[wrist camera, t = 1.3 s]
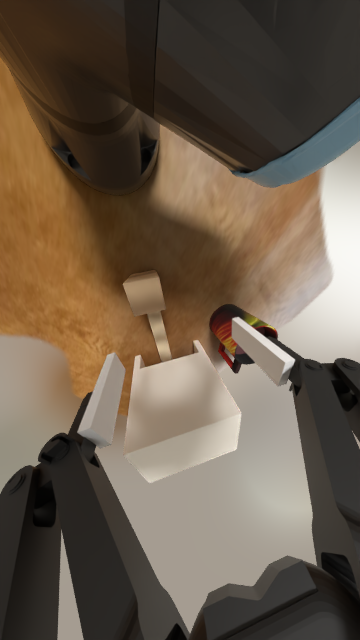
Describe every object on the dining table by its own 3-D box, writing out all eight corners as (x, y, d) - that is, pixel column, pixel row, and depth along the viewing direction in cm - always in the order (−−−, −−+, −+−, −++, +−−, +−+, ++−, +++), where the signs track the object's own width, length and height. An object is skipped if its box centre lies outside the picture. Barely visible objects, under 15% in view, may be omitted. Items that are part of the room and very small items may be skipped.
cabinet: (135, 356, 35) (123, 455, 18) (197, 339, 38) (241, 413, 20) (149, 391, 43) (151, 485, 25) (201, 375, 45) (236, 452, 27)
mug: (216, 349, 41) (240, 381, 31) (205, 313, 34) (231, 338, 24) (244, 337, 41) (276, 364, 31) (238, 298, 35) (278, 317, 24)
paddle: (130, 274, 26) (122, 284, 18) (155, 269, 27) (158, 277, 18) (158, 362, 38) (162, 394, 29) (175, 357, 39) (183, 387, 30)
